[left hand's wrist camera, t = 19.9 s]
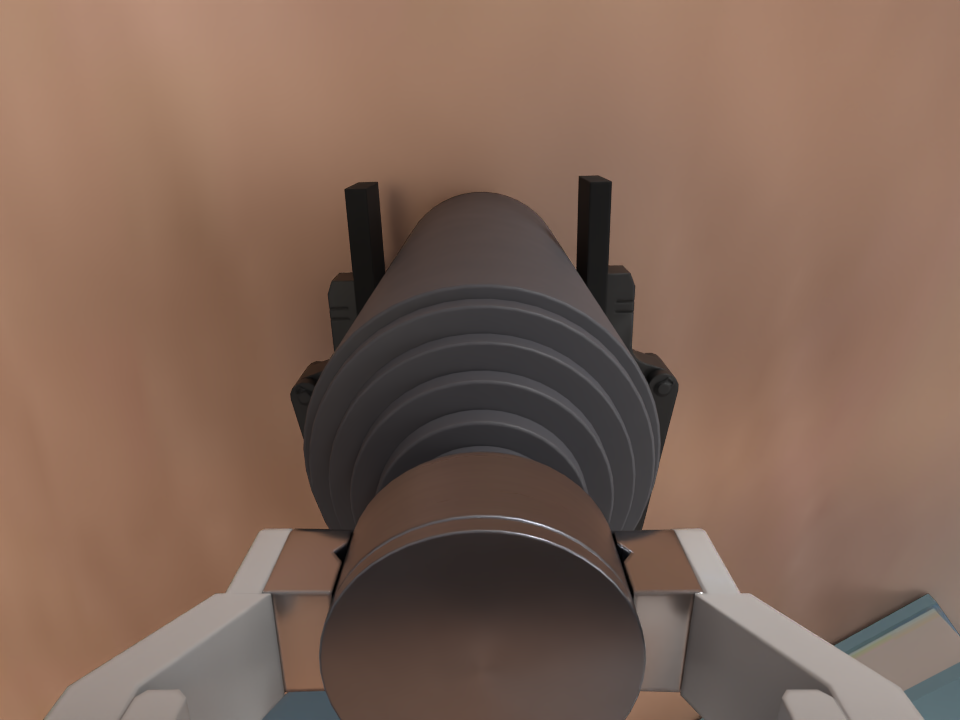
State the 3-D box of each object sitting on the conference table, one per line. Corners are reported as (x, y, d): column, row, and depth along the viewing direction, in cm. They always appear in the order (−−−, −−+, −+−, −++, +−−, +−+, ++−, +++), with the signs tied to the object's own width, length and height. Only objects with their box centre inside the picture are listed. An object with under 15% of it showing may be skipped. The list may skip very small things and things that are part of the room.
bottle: (456, 158, 29) (380, 261, 7) (593, 250, 31) (877, 569, 9) (372, 296, 32) (120, 697, 10) (503, 376, 33) (549, 885, 11)
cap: (466, 709, 12) (463, 828, 10) (292, 554, 10) (249, 652, 8) (668, 582, 11) (710, 686, 9) (501, 396, 9) (507, 466, 8)
